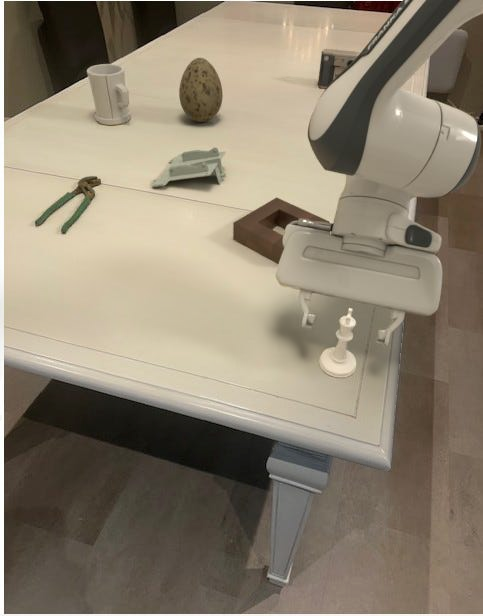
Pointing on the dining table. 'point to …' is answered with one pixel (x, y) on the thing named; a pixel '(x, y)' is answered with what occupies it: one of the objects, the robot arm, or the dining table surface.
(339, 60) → the camera
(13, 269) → the dining table surface
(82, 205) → the pliers
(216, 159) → the metal bracket
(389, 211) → the robot arm
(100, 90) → the cup
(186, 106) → the decorative egg
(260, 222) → the socket block
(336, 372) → the chess piece
